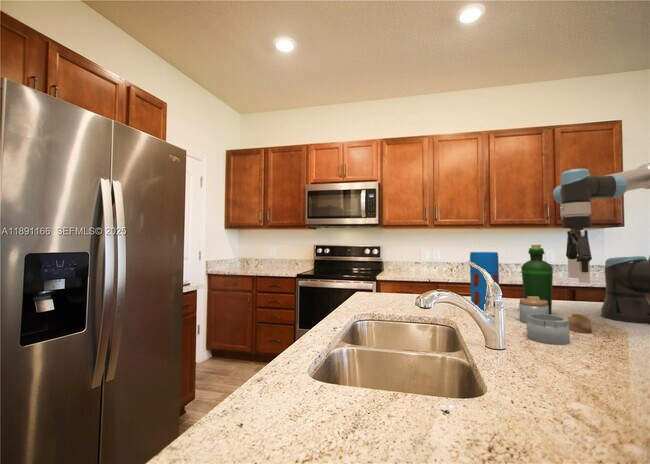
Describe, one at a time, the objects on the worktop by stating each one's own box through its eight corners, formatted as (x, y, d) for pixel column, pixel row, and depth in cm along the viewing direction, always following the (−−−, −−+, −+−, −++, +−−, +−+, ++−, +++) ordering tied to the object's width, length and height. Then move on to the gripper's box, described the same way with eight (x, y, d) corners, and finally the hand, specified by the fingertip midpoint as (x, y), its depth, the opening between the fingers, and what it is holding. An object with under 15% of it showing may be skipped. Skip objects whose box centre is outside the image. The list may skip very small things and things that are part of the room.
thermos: (488, 315, 128) (486, 253, 128) (465, 310, 137) (464, 252, 138) (505, 312, 133) (503, 252, 133) (482, 307, 142) (480, 251, 143)
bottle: (553, 313, 130) (551, 244, 131) (555, 319, 121) (553, 245, 122) (522, 310, 136) (520, 244, 136) (522, 315, 127) (520, 245, 127)
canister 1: (540, 319, 121) (539, 294, 121) (554, 325, 112) (553, 299, 112) (515, 318, 122) (514, 294, 122) (527, 324, 113) (526, 298, 113)
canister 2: (565, 336, 99) (564, 315, 100) (573, 346, 90) (572, 323, 90) (525, 332, 104) (524, 312, 104) (529, 341, 95) (528, 319, 95)
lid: (588, 329, 107) (588, 313, 107) (594, 334, 101) (593, 317, 102) (566, 327, 109) (566, 311, 110) (570, 332, 104) (570, 315, 104)
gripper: (555, 218, 119) (557, 275, 119) (571, 214, 97) (574, 284, 96) (580, 217, 116) (582, 276, 115) (603, 212, 93) (606, 285, 93)
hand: (578, 280), depth 106 cm, fingers open, 13 cm apart
